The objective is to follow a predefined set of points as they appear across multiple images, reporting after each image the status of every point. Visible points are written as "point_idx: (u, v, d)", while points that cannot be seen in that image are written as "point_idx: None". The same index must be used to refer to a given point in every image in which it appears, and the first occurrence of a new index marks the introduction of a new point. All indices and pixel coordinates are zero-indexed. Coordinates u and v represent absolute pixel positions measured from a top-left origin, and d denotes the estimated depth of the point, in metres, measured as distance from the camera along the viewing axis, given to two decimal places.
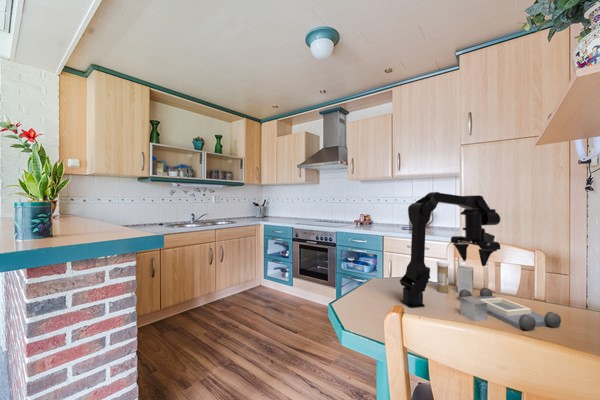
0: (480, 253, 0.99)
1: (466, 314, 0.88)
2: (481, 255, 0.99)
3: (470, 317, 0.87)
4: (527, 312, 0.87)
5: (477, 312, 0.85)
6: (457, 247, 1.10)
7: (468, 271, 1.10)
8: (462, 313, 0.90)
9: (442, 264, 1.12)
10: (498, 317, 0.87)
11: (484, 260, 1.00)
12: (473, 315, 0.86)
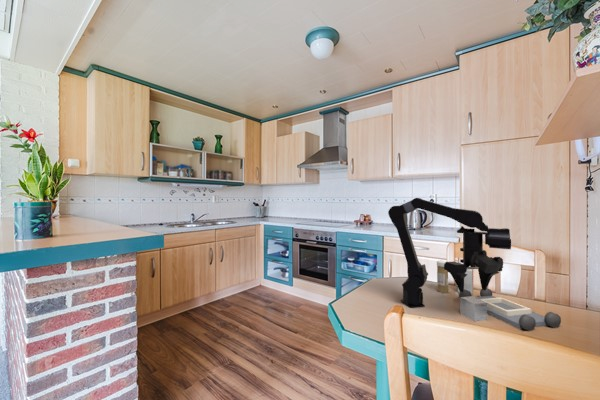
0: None
1: (466, 314, 0.88)
2: None
3: (470, 317, 0.87)
4: (527, 312, 0.87)
5: (477, 312, 0.85)
6: None
7: (468, 271, 1.10)
8: (462, 313, 0.90)
9: (442, 264, 1.12)
10: (498, 317, 0.87)
11: (458, 284, 0.88)
12: (473, 315, 0.86)
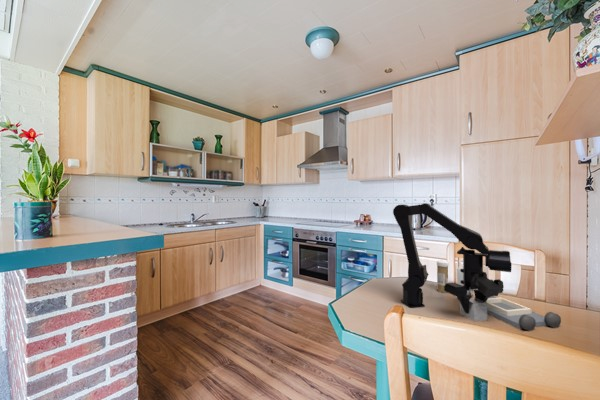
0: None
1: (466, 313, 0.88)
2: None
3: (470, 317, 0.87)
4: (527, 312, 0.87)
5: (477, 312, 0.85)
6: None
7: None
8: (462, 313, 0.90)
9: (442, 264, 1.12)
10: (498, 317, 0.87)
11: (463, 305, 0.89)
12: (473, 315, 0.86)
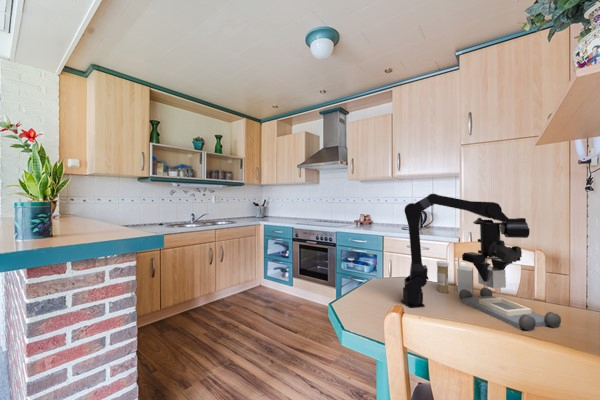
0: None
1: (485, 282, 0.90)
2: None
3: (489, 284, 0.88)
4: (527, 312, 0.87)
5: (496, 279, 0.87)
6: None
7: (468, 271, 1.10)
8: (480, 282, 0.92)
9: (442, 264, 1.12)
10: (498, 317, 0.87)
11: (481, 274, 0.90)
12: (492, 282, 0.87)
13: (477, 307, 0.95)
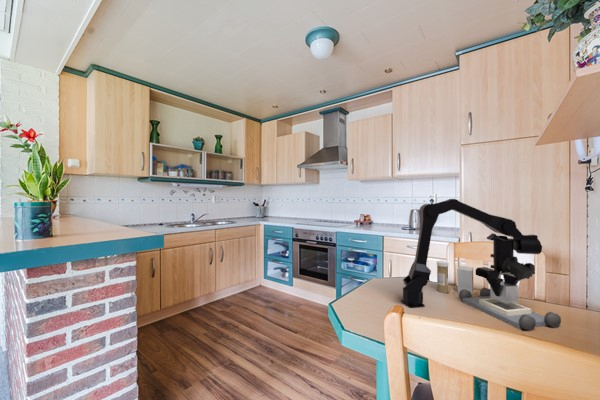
0: None
1: (497, 296, 0.92)
2: None
3: (501, 299, 0.90)
4: (527, 312, 0.87)
5: (509, 294, 0.89)
6: None
7: (468, 271, 1.10)
8: (492, 296, 0.94)
9: (442, 264, 1.12)
10: (498, 317, 0.87)
11: (493, 289, 0.92)
12: (505, 298, 0.89)
13: (477, 307, 0.95)
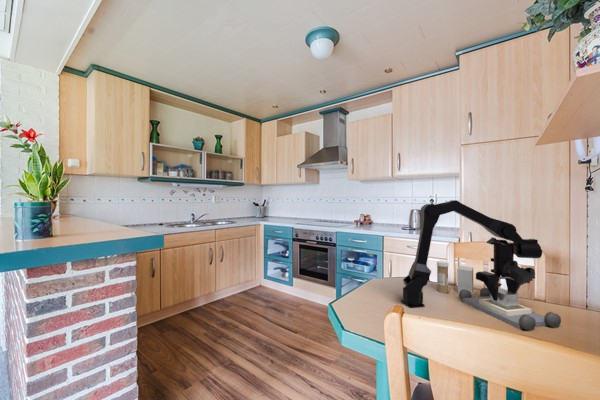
0: None
1: (497, 305, 0.92)
2: None
3: None
4: (527, 312, 0.87)
5: (509, 303, 0.89)
6: None
7: (468, 271, 1.10)
8: None
9: (442, 264, 1.12)
10: (498, 317, 0.87)
11: (491, 293, 0.92)
12: (505, 306, 0.89)
13: (477, 307, 0.95)
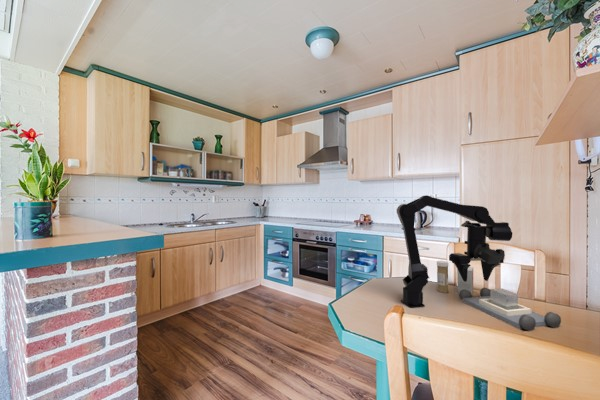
0: None
1: (497, 305, 0.92)
2: None
3: None
4: (527, 312, 0.87)
5: (509, 303, 0.89)
6: None
7: (468, 271, 1.10)
8: None
9: (442, 264, 1.12)
10: (498, 317, 0.87)
11: (461, 274, 0.95)
12: (505, 306, 0.89)
13: (477, 307, 0.95)
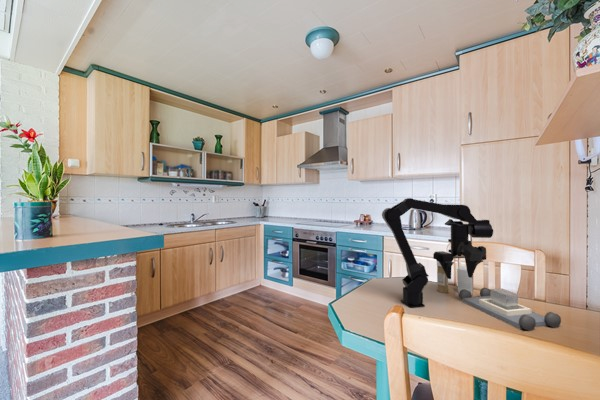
0: None
1: (497, 305, 0.92)
2: None
3: None
4: (527, 312, 0.87)
5: (509, 303, 0.89)
6: None
7: None
8: None
9: None
10: (498, 317, 0.87)
11: (446, 272, 0.96)
12: (505, 306, 0.89)
13: (477, 307, 0.95)
